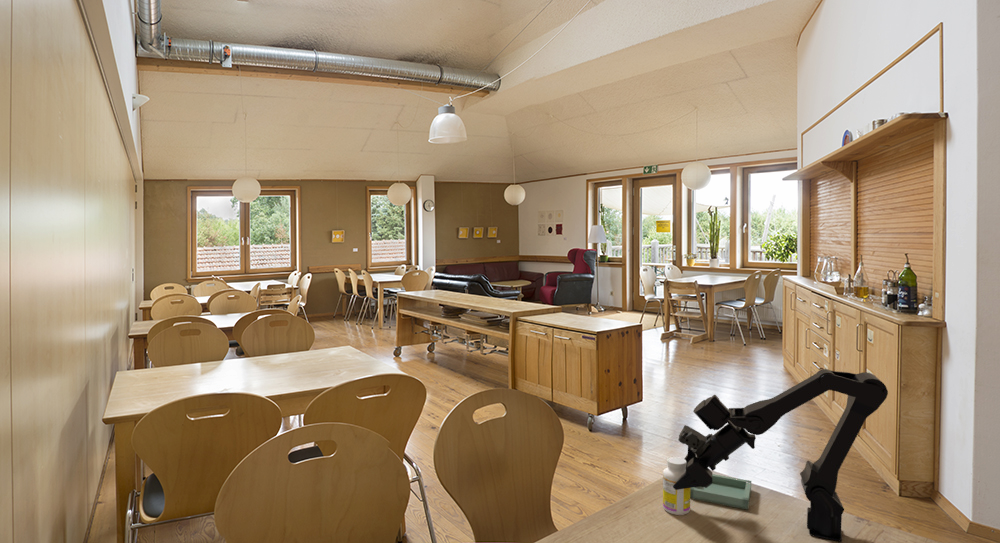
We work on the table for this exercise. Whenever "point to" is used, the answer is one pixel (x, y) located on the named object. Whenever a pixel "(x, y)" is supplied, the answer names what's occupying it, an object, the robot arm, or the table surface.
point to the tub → (724, 492)
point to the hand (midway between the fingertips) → (675, 480)
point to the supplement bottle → (672, 498)
